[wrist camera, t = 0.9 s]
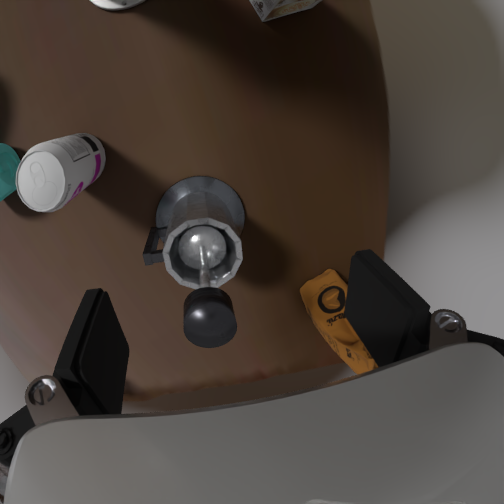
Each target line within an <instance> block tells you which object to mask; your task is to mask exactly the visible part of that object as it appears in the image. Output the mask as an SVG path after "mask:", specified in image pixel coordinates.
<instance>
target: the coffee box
mask: <svg viewBox="0 0 504 504" xmlns="http://www.w3.org/2000/svg"><path fill="white" fill-rule="evenodd" d="M249 1H250V2H251V4H252V6H253V7H254V9H255V10H256V12H257V14H258V15H259V17H260V19H261V20H262V22H265V21H269V20H272V19H275V18H278V17H282V16H285V15H288V14H292V13H296V12H299V11H303V10H307V9H311V8H313V7H314V6H315V5H317V4H318V3H319V2H321V1H322V0H249Z"/></svg>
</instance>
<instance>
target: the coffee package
mask: <svg viewBox="0 0 504 504" xmlns="http://www.w3.org/2000/svg"><path fill="white" fill-rule="evenodd" d="M347 288H348V285H347V284H346V283H345V282H344V281H343V280H342V279H341V277H340V276H339V275H338V273H337V272H336V271H335V270H332V269H327V270H326V271H325V272H324V273H323V274H321V275H319V276H317V277H315V278H314V279H312V280H308V281H307V282H306V283H305V284H304V285H303V286H302V287H301V288H300V294H301V296H302V300H303V302H304V304H305V307H306V310H307V313H308V315H309V317H310V318H311V320H312V322H313V323H314V325H315V326H316V328H317V329H318V331H319V332H320V333H321V335H322V336H323V338H324V339H325V340H326V341H327V343H328V344H329V345H330V346H331V348H332V349H333V350H334V351H335V352H336V353H337V354H338V355H339V356H340V357H341V358H342V359H343V360H344V361H345V362H346V363H347V364H348V365H349V367H350V368H351V369H352V370H353V371H354V372H355V373H357V374H361V373H364V372H367V371H370V370H373V369H376V368H379V367H378V366H377V364H376V362H375V361H374V359H373V358H372V356H371V355H370V353H369V352H368V350H367V349H366V347H365V346H364V344H363V343H362V341H361V340H360V338H359V337H358V335H357V334H356V332H355V331H354V329H353V328H352V326H351V325H350V323H349V322H348V320H347V319H346V317H345V313H344V309H345V302H346V296H347Z"/></svg>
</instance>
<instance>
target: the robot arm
mask: <svg viewBox="0 0 504 504" xmlns="http://www.w3.org/2000/svg"><path fill="white" fill-rule="evenodd" d="M90 1H91V2H92V3H93V4H94V5H95V6H97V7H99V8H101V9H104V10H111V11H116V10H124V9H128V8H131V7H134V6H136V5H138V4H141V3H143V2H144V1H146V0H90ZM125 4H126V5H125ZM124 5H125V6H124ZM429 309H430V305H429V304H428V303H427V302H425V300H424V299H423V298H422V297H420V295H418V294H417V293H416V292H415V291H414V290H413V289H412V288H411V287H410V286H409V285H408V284H407V283H406V282H405V281H404V280H403V279H402V278H401V277H400V276H399V275H398V274H397V273H395V271H393V270H392V269H391V268H390V267H389V266H388V265H387V264H386V263H385V262H384V261H383V260H382V259H381V258H379V257H378V256H377V255H376V254H375V253H374V252H373V251H372V250H370V249H368V250H362V251H357V252H356V253H355V255H354V256H352V258H351V265H350V273H349V281H348V288H347V296H346V302H345V309H344V313H345V317H346V319H347V320H348V322H349V323H350V325H351V326H352V328H353V329H354V331H355V332H356V334H357V335H358V337H359V338H360V340H361V341H362V343H363V344H364V346H365V347H366V349H367V350H368V352H369V353H370V355H371V356H372V358H373V359H374V361H375V362H376V364H377V366H378V367H379V368H376V369H373V370H370V371H367V372H364V373H361V374H358V375H355V376H351V377H348V378H344V379H341V380H338V381H334V382H330V383H326V384H323V385H319V386H315V387H312V388H307V389H303V390H299V391H294V392H290V393H286V394H281V395H276V396H271V397H266V398H261V399H256V400H251V401H245V402H239V403H232V404H226V405H219V406H213V407H205V408H196V409H187V410H178V411H165V412H150V413H135V414H121V411H122V402H123V394H124V386H125V378H126V371H127V364H128V358H129V346H128V343H127V341H126V338H125V336H124V333H123V331H122V329H121V326H120V324H119V321H118V319H117V316H116V313H115V311H114V308H113V306H112V303H111V300H110V297H109V295H108V293H107V292H106V291H105V292H103V290H102V289H101V288H98V289H90V290H87V291H86V292H85V295H84V297H83V299H82V301H81V303H80V306H79V308H78V310H77V312H76V315H75V317H74V320H73V322H72V324H71V327H70V329H69V332H68V334H67V337H66V339H65V342H64V344H63V347H62V350H61V352H60V355H59V358H58V360H57V363H56V366H55V370H54V373H53V376H50V375H44V376H40V377H38V378H36V379H34V380H33V381H32V382H31V383H30V384H29V386H28V387H27V389H26V391H25V402H26V406H24V407H23V408H21V409H20V410H19V411H17V412H16V413H15V414H13V415H12V416H10V417H9V418H8V419H7V420H5V421H4V422H2V423H1V424H0V504H504V340H503V339H500V338H497V337H493V336H489V335H485V334H482V333H478V332H474V331H470V330H467V328H466V323H465V320H464V319H463V317H461V316H460V315H459V314H458V313H456V312H454V311H452V310H448V309H440V310H437V311H434V313H433V314H431V313H430V312H429Z"/></svg>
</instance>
